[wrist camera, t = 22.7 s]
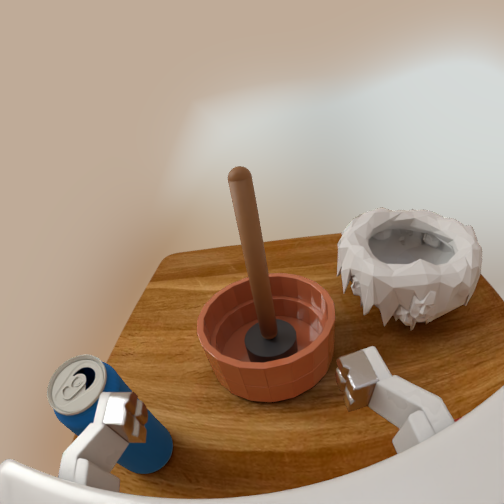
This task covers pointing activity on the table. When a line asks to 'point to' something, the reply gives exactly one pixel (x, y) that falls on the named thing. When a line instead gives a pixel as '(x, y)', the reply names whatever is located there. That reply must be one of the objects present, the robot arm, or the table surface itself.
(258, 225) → the plunger
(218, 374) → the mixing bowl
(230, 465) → the table surface
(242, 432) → the table surface
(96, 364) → the beverage can
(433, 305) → the bowl
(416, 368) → the table surface
